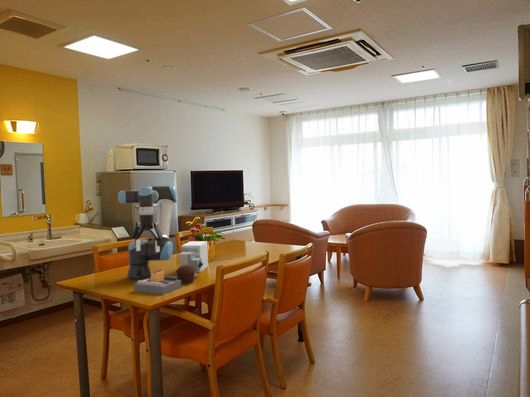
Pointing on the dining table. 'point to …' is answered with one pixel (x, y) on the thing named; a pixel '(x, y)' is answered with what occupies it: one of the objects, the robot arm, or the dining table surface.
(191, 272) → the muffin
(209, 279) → the dining table surface
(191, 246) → the supplement box
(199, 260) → the circuit breaker
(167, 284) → the breaker panel
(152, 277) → the breaker toggle
